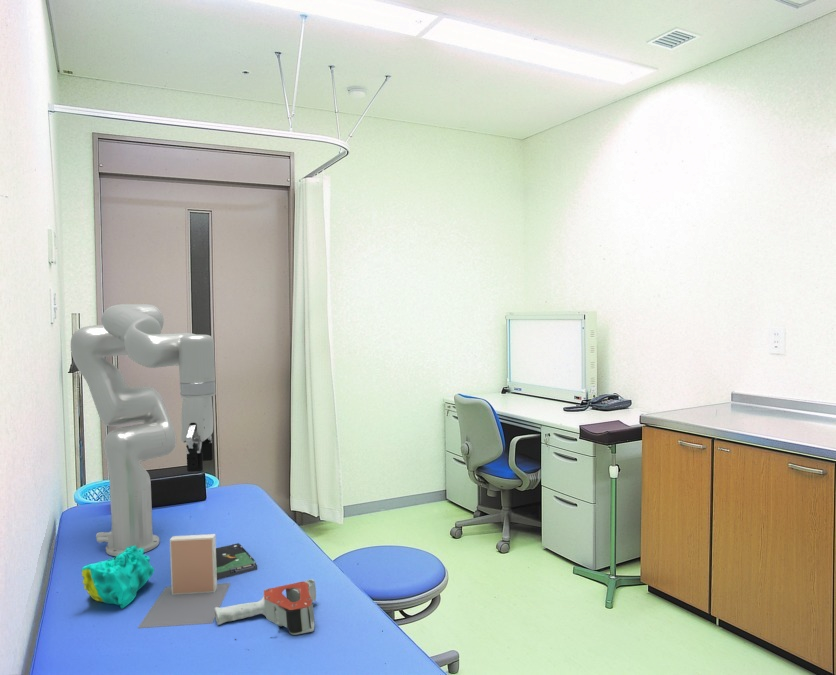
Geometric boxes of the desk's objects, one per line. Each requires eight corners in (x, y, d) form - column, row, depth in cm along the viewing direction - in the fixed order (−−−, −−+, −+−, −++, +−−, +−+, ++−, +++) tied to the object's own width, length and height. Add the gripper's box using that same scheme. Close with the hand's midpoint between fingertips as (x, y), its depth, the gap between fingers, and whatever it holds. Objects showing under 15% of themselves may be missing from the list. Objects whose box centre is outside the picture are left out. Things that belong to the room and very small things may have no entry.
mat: (137, 631, 115) (137, 628, 115) (165, 589, 132) (165, 586, 132) (212, 626, 116) (212, 623, 116) (230, 585, 133) (230, 582, 133)
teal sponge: (63, 567, 128) (119, 524, 136) (96, 609, 130) (149, 565, 139) (80, 577, 117) (140, 530, 125) (115, 623, 119) (172, 574, 128)
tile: (171, 595, 128) (169, 540, 127) (174, 590, 130) (172, 536, 129) (214, 592, 129) (213, 537, 128) (217, 587, 131) (215, 534, 130)
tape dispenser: (207, 631, 117) (282, 655, 106) (204, 605, 117) (278, 626, 106) (273, 590, 132) (344, 608, 121) (271, 566, 131) (341, 582, 121)
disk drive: (197, 563, 147) (213, 585, 134) (196, 552, 146) (213, 573, 134) (239, 553, 152) (258, 573, 140) (238, 542, 152) (258, 561, 140)
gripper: (191, 384, 143) (193, 456, 144) (168, 395, 126) (171, 477, 126) (223, 384, 144) (225, 455, 145) (205, 394, 126) (208, 475, 127)
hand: (200, 465), depth 135 cm, fingers open, 8 cm apart
